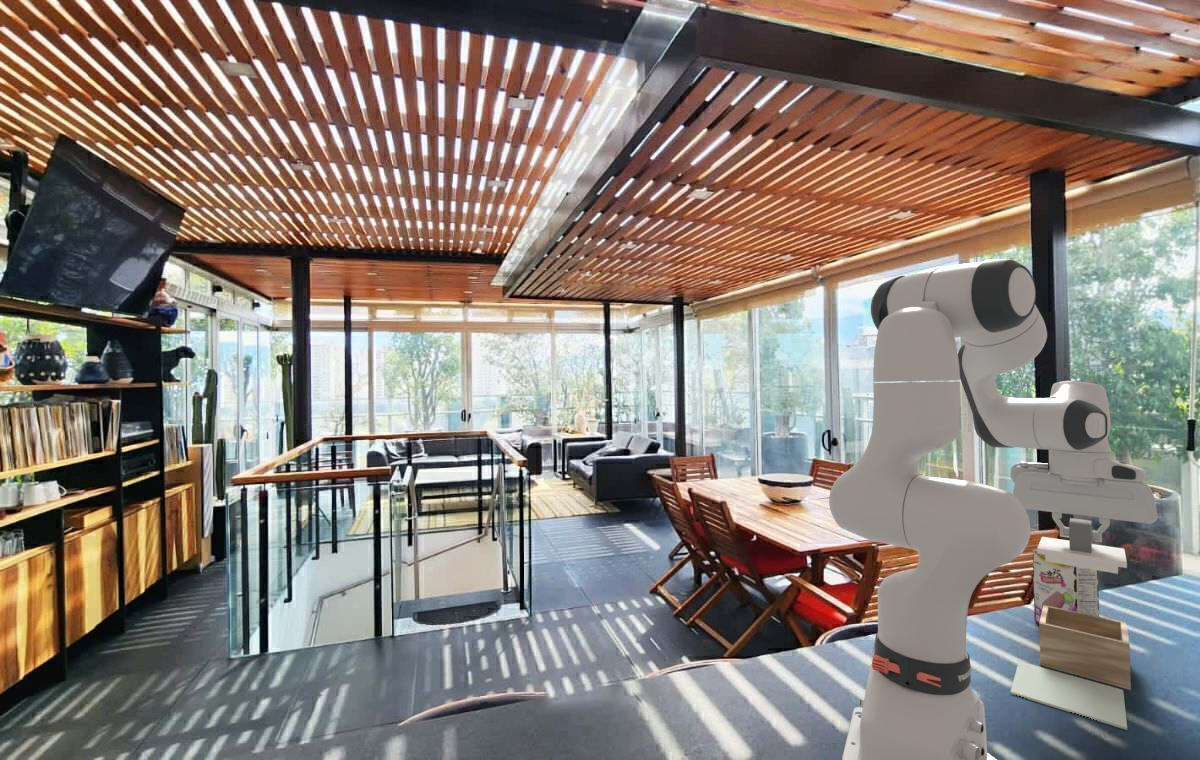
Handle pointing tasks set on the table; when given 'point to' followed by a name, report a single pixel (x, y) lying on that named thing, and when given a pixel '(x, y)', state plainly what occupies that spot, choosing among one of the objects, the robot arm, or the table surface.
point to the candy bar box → (1064, 587)
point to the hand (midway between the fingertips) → (1080, 538)
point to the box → (1085, 645)
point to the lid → (1082, 550)
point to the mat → (1070, 694)
